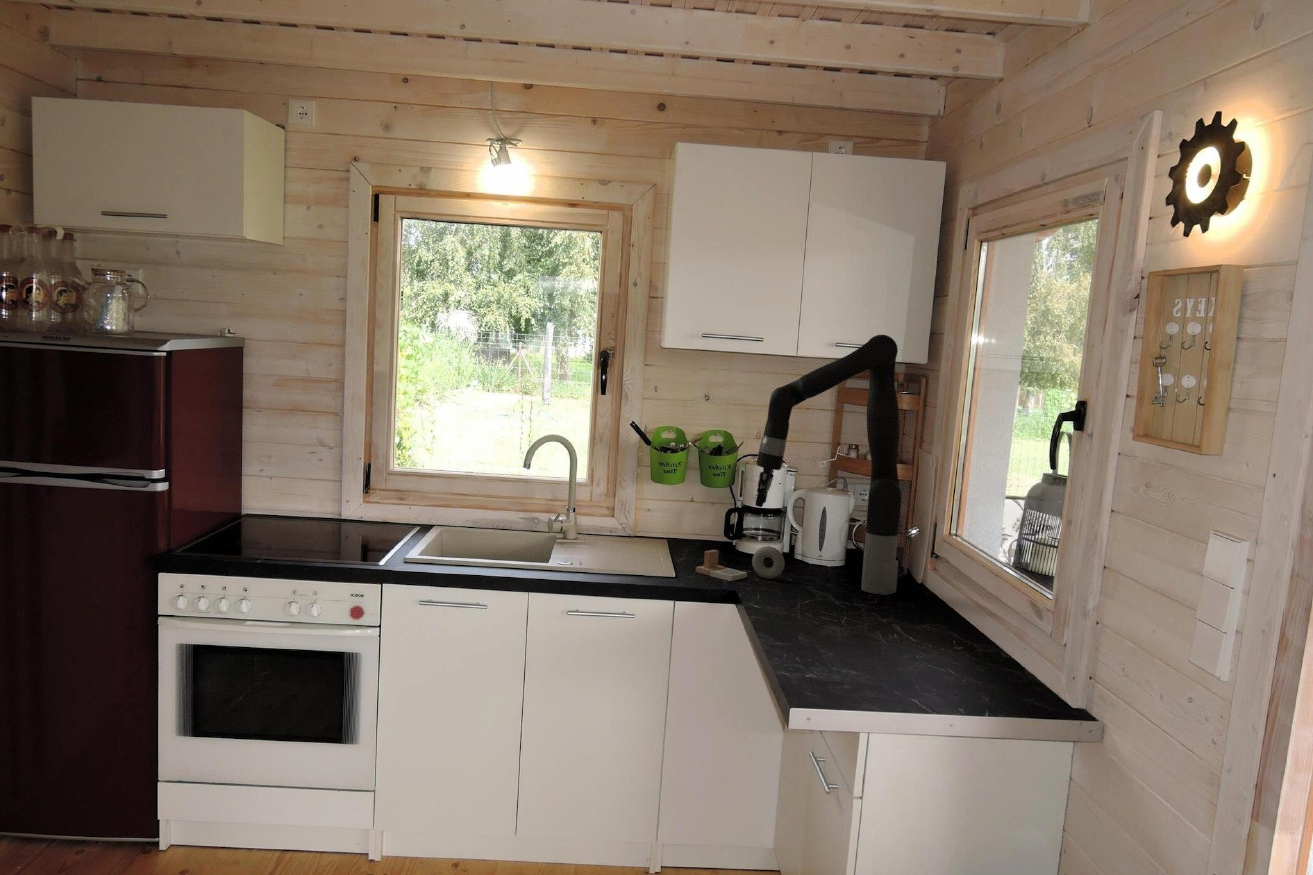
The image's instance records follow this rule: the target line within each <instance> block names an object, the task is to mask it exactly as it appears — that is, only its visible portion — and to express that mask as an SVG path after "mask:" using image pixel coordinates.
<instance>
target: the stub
mask: <svg viewBox="0 0 1313 875" xmlns="http://www.w3.org/2000/svg"><path fill="white" fill-rule="evenodd" d="M719 553H720V552H719V550H717V549H711V550H705V551H704V555H703V556H704V557H703V565H701V566H696V567H695V573H699V574H702V575H706V576H710V571H712V570H717V569H721V568H726V566H724V565H719V555H720V554H719Z"/></svg>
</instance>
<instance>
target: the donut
mask: <svg viewBox="0 0 1313 875" xmlns="http://www.w3.org/2000/svg"><path fill="white" fill-rule="evenodd" d="M767 558H770V559H771V560H772V563H773V564H772V566H771V567H767V566H765V564H764V560H765V559H767ZM751 562H752V567H753V570H754V572H755V573H756V574H757V575H758V576H759V577H761V578H763V579H767V580H772V579H776V578H777V577H779V576H780V575H781V574H782V572H783V571H784V569H785V563H786V562H785V559H784V555H783V554H782V552H781V551H780V550H779V549H777V547H774V546H770V545H768V546H767V545H766V546H765V545H764V546H762V547H760V548H758V549H757V550H756V551H755V552H754V554H753V555H752V559H751Z"/></svg>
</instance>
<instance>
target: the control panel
mask: <svg viewBox="0 0 1313 875" xmlns="http://www.w3.org/2000/svg"><path fill="white" fill-rule="evenodd" d="M709 576H710V577H713V578H716V579H720V580H725V581H729V582H732V581H737V580H742V579H745V578H747V577H748V572H745V571H741V570H738V569H733V568H729V567H725V568H721V569H717V570H712V571H710V575H709Z"/></svg>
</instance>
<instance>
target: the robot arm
mask: <svg viewBox="0 0 1313 875" xmlns="http://www.w3.org/2000/svg"><path fill="white" fill-rule="evenodd" d="M898 349H899V348H898V344H897V342H896V341H895V340H894V338H892V337H891V336H890V335H886V334H878V335H877V334H876V335H873V337H871V338H870V339H869V340H868V341H867V342H866V343H864V344H863V345H861V346H860V347H859V348H857V349H855V350H854V351H852V352H850V353H849V354H847V355H845V356H843V357H841V358H838V359H837V360H834V361H832V362H829V363H827V364H825V365H822V366H821V367H818V368H815V369H814V370H812V371H810V372H808V373H805V374H804V375H802V376H801V377H799V378H798V379H796V380H794V381H792V382H789V383H787V384H784V385H783V386H779V387H777V388H775V389H774V390H773V391H772V392H771V395H770V398H769V404H768V409H767V418H766V423H765V425H764V426H765V427H764V430H763V435H762V438H761V441H760V445H759V450H758V454H757V458H756V465H757V466H758V467H761V468H763V469H762V471H760V472H759V475H758V483H757V489H756V493H757V494H756V499H755V506H756V507H759V508H762V507H763V506H764V504H765V503H766V501H767V497H768V494H769V493H768V492H769V491H770V488H771V486H772V482H773V479H774V477H775V474H773V473H774V472H775V471H780V470H781V469H782V466H783V461H784V455H785V452H786V447H787V444H786V443H787V440H788V435H789V434H788V433H789V430H790V418H791V414H792V410H793V408H794V407H795V406H798V405H799V404H801V403H802V402H803V403H804V402H805V401H806V400H808V399H811V398H813V397H816V396H818V395H819V396H820V395H821V394H822V393H825V392H826V391H829V390H831V389H833V388H834V387H836V386H838V385H839V384H842V383H843V382H845V381H847V380H848V379H850V378H853V377H854V376H856V375H859V374H861V373H864V372H866V371H867V373H868V382H869V383H868V384H869V385H868V395H867V401H866V402H867V405H866V432H867V433H866V434H867V441H868V442H867V443H868V449H869V453H870V459H871V460H870V461H871V467H870V468H871V469H870V474H871V475H870V485H869V489H868V496H867V498H868V499H867V500H868V501H867V512H866V513H867V514H866V522H865V523H866V524H865V536H864V537H865V538H864V550H863V562H862V571H861V572H862V573H861V574H862V575H861V590H862V591H863V592H866V593H870V594H873V595H875V594H876V595H884V596H888V595H891V594H894V593H896V592H897V582H898V572H899V571H898V570H899V560H897V548H898V537H899V527H900V519H901V510H902V509H901V505H902V490H901V487H900V482H899V475H898V464H897V462H898V461H897V460H898V451H899V444H900V443H899V441H900V411H899V410H900V409H899V401H898V396H897V390H896V384H895V381H896V379H895V377H896V376H895V375H896V361H897V357H898V356H897V355H898Z"/></svg>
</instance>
